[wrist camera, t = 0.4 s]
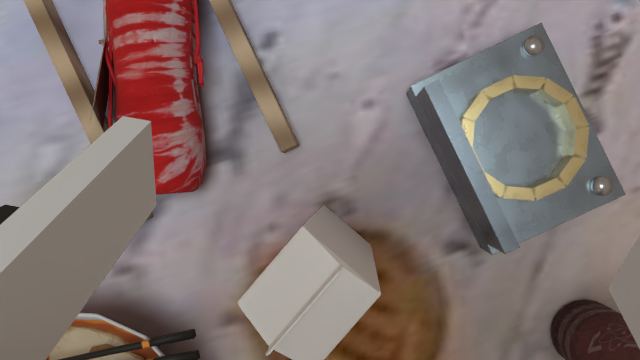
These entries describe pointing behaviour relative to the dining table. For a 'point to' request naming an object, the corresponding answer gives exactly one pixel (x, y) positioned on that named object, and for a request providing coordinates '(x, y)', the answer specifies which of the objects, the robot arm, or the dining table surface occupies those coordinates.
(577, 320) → the can
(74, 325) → the ramen bowl
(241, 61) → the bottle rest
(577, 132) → the bolted ring bracket
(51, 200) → the robot arm
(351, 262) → the milk
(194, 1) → the water bottle
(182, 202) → the dining table surface
